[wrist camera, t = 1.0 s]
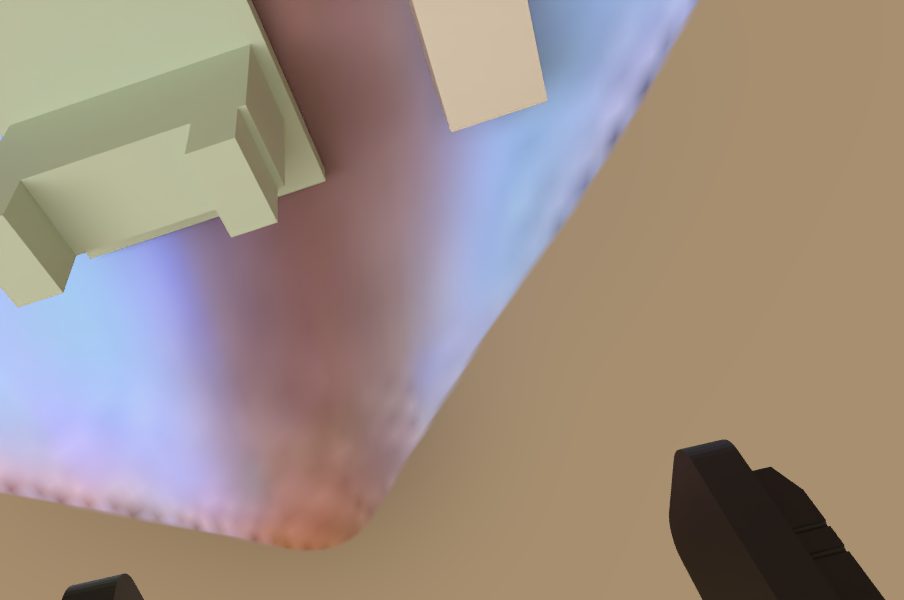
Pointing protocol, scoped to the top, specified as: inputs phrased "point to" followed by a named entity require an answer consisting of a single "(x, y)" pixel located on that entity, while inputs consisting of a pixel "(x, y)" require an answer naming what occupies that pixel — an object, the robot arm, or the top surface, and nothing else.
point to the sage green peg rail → (137, 129)
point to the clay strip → (480, 57)
